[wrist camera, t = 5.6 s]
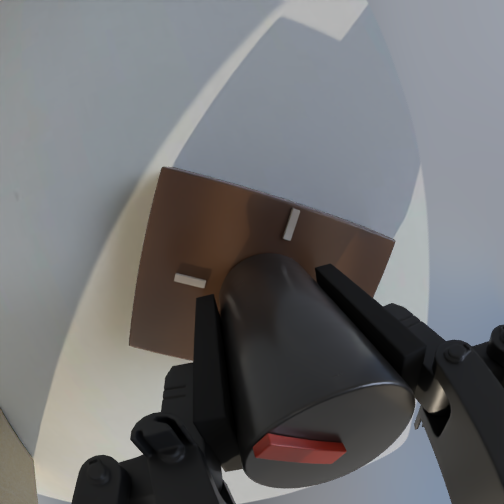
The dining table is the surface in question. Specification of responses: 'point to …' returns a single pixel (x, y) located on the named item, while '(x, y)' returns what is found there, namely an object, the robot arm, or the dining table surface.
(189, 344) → the dial panel
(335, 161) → the dining table surface
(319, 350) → the dial
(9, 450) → the flower pot
